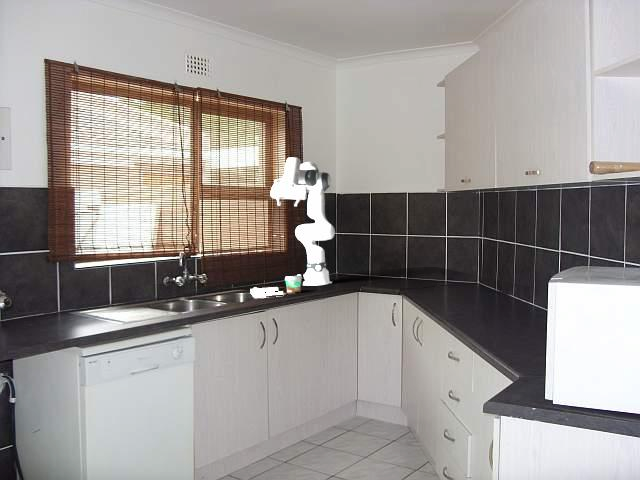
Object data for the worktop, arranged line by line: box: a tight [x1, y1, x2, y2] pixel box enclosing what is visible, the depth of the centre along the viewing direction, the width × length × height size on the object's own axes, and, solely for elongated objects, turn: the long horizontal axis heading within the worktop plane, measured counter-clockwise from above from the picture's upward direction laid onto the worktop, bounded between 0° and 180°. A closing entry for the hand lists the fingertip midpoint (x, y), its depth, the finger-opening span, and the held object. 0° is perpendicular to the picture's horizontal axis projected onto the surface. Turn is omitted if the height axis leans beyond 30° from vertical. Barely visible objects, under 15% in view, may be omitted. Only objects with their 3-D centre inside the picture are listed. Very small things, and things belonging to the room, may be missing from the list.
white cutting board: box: [250, 286, 284, 299], centre depth 375 cm, size 23×16×3 cm
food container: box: [284, 274, 303, 294], centre depth 378 cm, size 12×6×10 cm, turn 143°
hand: (287, 205), depth 358 cm, fingers open, 8 cm apart
